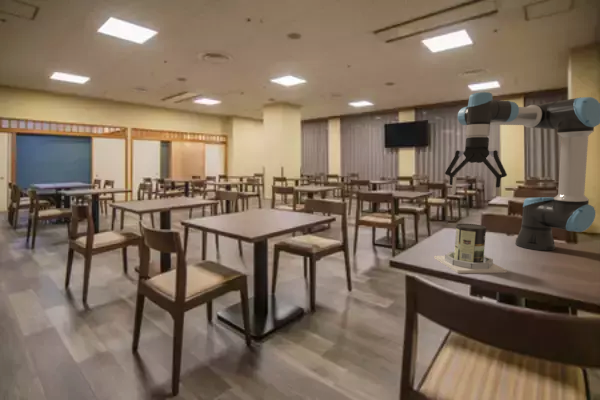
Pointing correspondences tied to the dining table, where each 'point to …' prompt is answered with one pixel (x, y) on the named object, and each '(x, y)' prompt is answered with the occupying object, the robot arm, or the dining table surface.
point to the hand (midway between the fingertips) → (473, 195)
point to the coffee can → (470, 242)
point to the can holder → (469, 265)
